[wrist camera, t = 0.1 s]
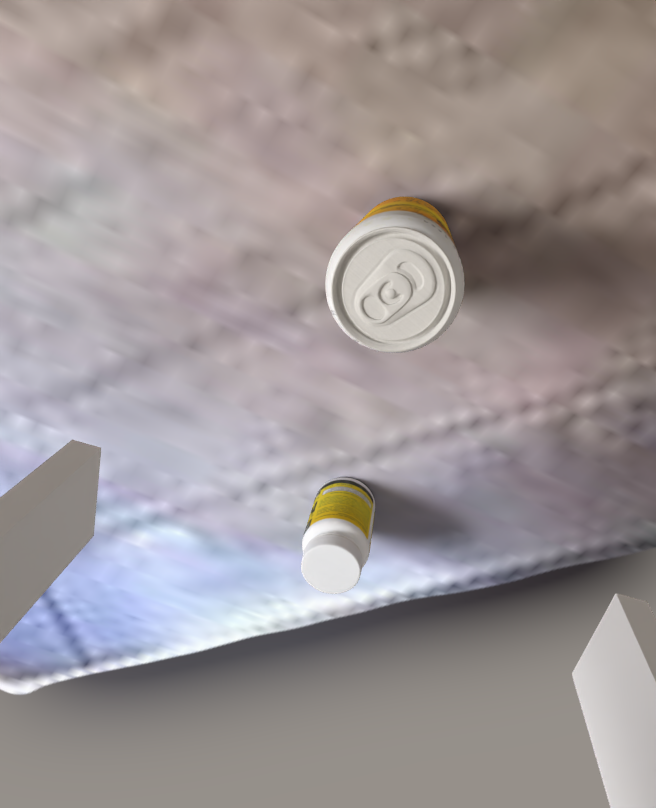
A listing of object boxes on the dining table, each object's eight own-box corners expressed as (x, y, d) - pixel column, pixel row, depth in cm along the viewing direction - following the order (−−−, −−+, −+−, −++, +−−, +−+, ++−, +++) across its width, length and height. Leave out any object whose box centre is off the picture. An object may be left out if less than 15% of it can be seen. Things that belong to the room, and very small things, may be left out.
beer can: (470, 249, 39) (496, 299, 25) (397, 310, 41) (384, 387, 27) (409, 174, 37) (401, 184, 24) (337, 241, 40) (292, 285, 26)
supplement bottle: (311, 477, 47) (289, 540, 39) (371, 473, 46) (361, 537, 38) (321, 529, 48) (301, 600, 41) (379, 527, 47) (371, 598, 40)
